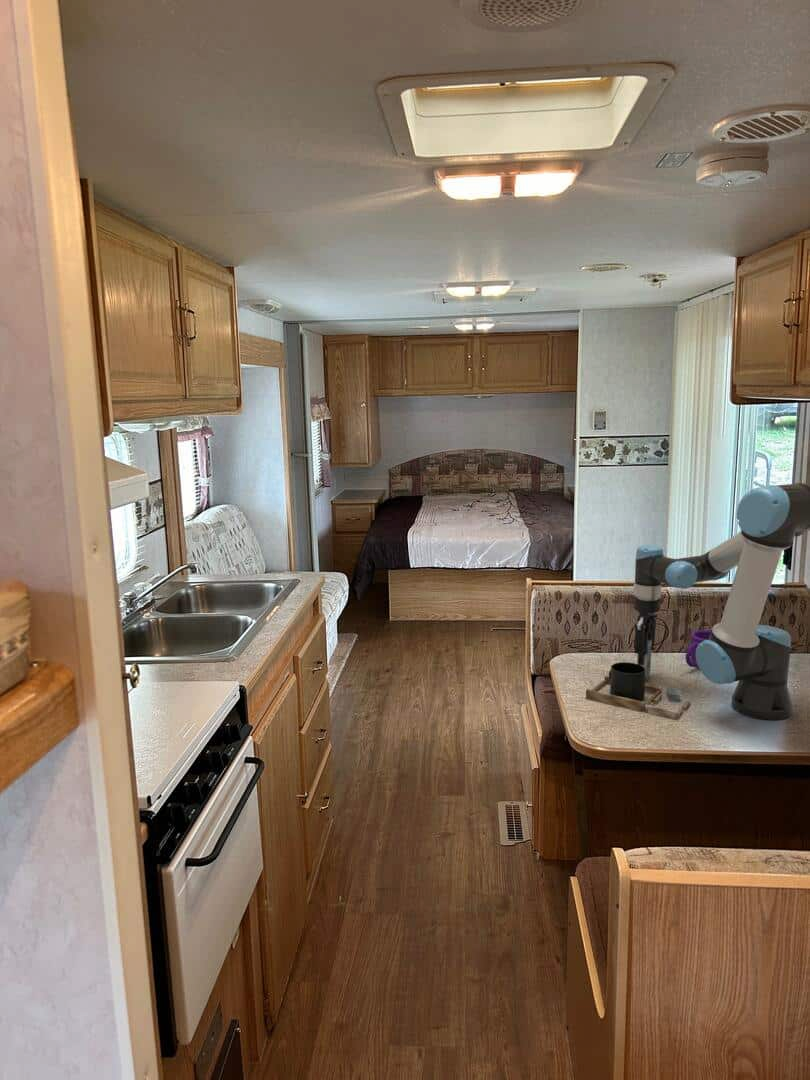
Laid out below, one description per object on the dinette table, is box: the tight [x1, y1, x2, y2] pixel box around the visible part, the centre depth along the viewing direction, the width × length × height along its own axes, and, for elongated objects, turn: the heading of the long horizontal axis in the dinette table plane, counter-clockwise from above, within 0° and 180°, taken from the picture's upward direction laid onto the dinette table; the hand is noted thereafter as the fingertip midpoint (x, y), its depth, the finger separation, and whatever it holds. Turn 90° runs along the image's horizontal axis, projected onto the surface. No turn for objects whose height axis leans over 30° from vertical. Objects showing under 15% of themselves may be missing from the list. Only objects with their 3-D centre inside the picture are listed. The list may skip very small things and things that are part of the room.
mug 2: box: [685, 629, 712, 668], centre depth 242 cm, size 17×11×10 cm, turn 125°
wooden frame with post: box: [585, 640, 662, 713], centre depth 224 cm, size 17×26×12 cm, turn 144°
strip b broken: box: [644, 687, 691, 721], centre depth 214 cm, size 9×17×2 cm, turn 144°
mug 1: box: [608, 661, 646, 702], centre depth 220 cm, size 9×12×9 cm
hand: (643, 672), depth 233 cm, fingers closed on wooden frame with post, 3 cm apart
